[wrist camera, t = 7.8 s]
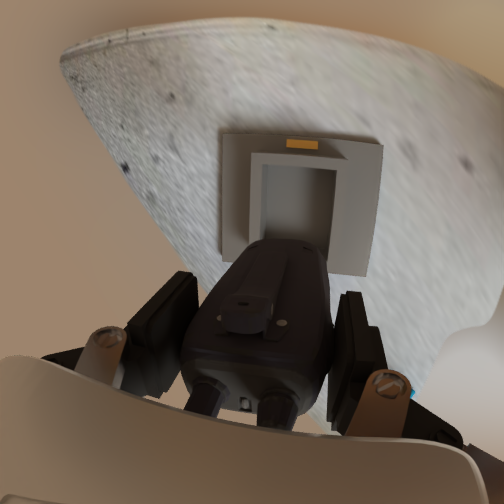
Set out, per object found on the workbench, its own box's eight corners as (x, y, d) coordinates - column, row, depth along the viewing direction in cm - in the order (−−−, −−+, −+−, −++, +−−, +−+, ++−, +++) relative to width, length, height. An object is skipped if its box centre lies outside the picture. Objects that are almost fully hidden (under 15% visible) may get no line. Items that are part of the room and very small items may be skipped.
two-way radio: (239, 285, 19) (112, 515, 5) (235, 216, 17) (25, 433, 3) (329, 290, 17) (309, 565, 4) (333, 218, 16) (349, 535, 2)
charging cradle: (381, 145, 26) (392, 146, 22) (364, 273, 31) (370, 292, 27) (225, 133, 29) (210, 133, 25) (224, 258, 34) (212, 274, 30)
